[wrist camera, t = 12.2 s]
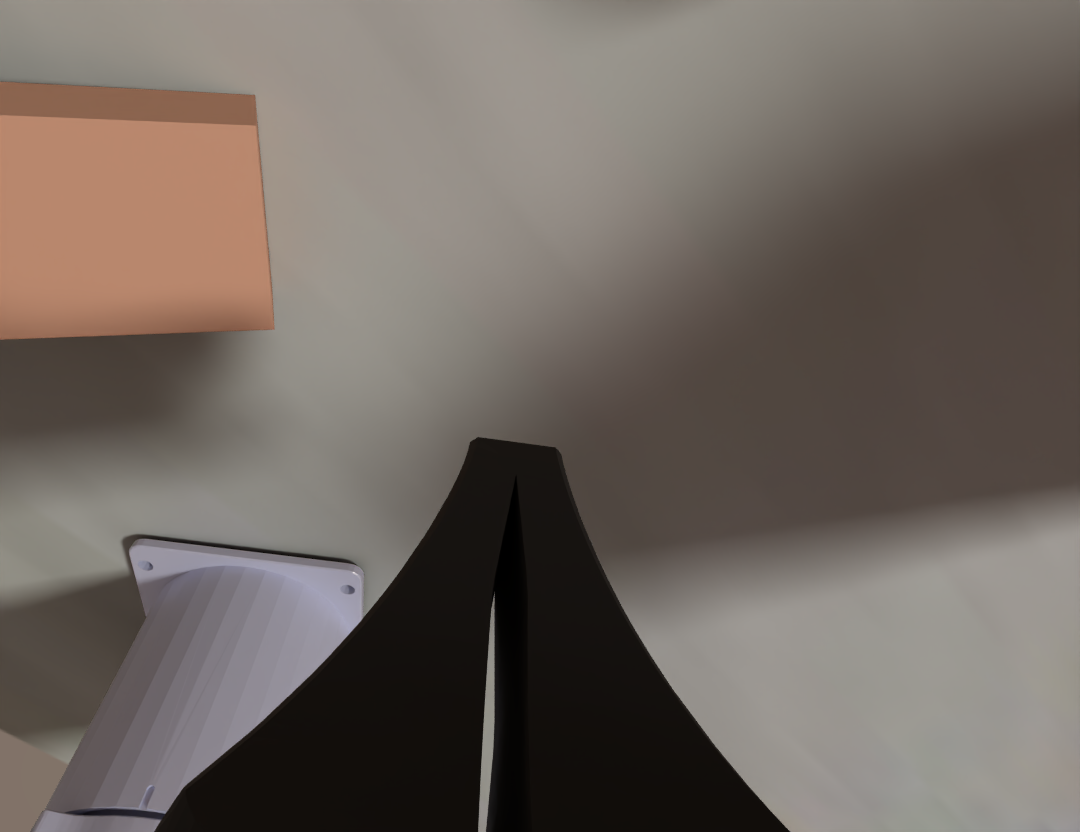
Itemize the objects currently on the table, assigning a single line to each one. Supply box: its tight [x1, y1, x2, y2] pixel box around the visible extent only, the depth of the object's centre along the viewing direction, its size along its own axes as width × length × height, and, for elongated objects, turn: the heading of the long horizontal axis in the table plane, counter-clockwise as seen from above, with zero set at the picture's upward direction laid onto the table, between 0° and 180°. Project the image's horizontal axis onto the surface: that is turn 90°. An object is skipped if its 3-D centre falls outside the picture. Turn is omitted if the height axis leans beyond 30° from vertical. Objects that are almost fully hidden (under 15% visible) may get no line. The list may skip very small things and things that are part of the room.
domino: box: [0, 82, 274, 340], centre depth 17 cm, size 5×2×9 cm
